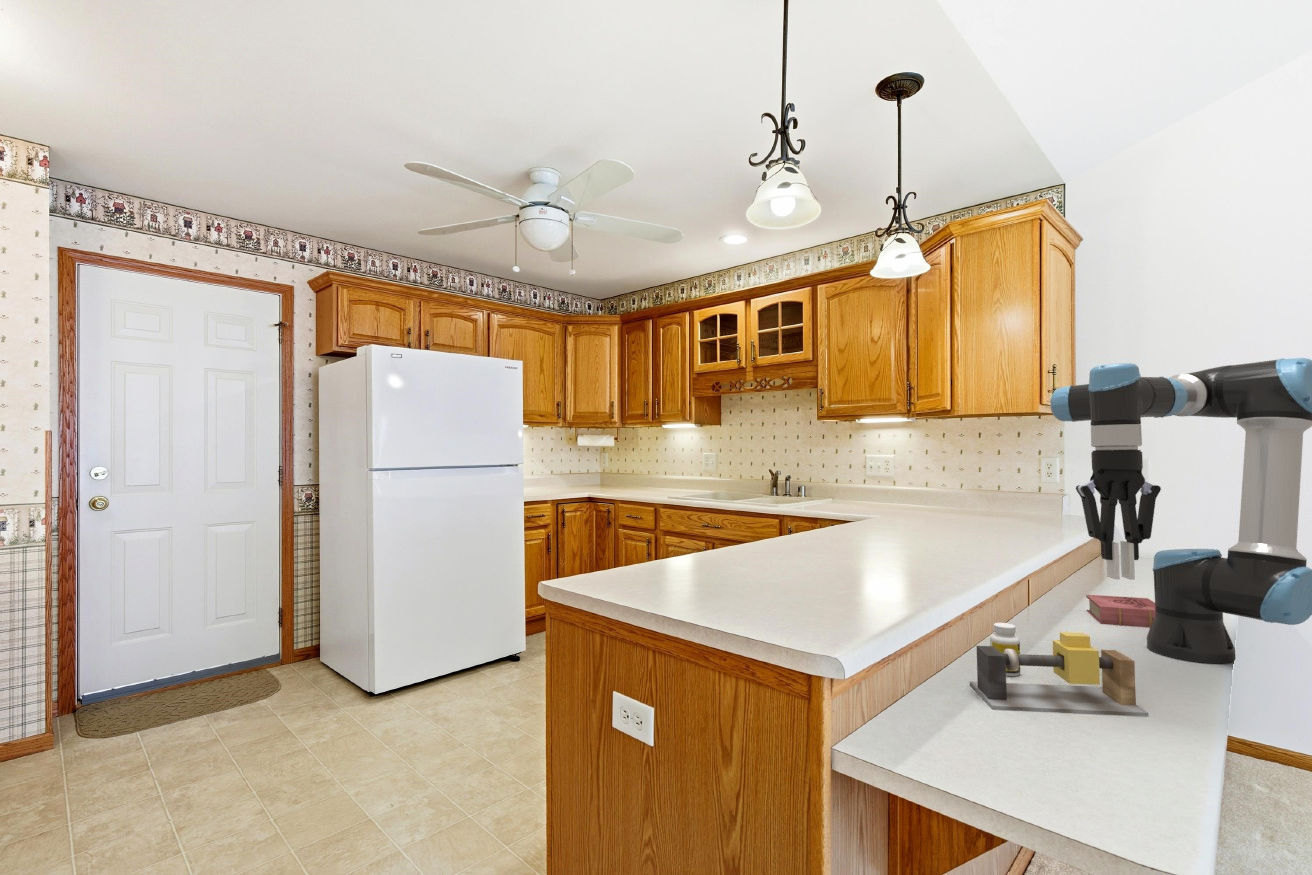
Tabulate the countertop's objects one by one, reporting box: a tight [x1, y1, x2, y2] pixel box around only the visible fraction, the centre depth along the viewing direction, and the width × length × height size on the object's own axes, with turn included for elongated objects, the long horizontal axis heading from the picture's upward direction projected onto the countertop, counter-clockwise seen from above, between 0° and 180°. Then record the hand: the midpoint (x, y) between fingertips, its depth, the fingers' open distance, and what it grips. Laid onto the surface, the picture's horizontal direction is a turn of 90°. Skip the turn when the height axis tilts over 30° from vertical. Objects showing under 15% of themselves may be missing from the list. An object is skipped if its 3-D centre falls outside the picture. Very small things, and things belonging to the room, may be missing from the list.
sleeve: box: [1052, 631, 1101, 686], centre depth 115 cm, size 5×6×8 cm
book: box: [1085, 594, 1155, 629], centre depth 168 cm, size 14×15×5 cm
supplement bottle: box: [989, 622, 1021, 677], centre depth 130 cm, size 5×5×10 cm
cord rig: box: [969, 645, 1150, 717], centre depth 115 cm, size 25×12×9 cm, turn 81°
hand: (1120, 577), depth 114 cm, fingers open, 2 cm apart
